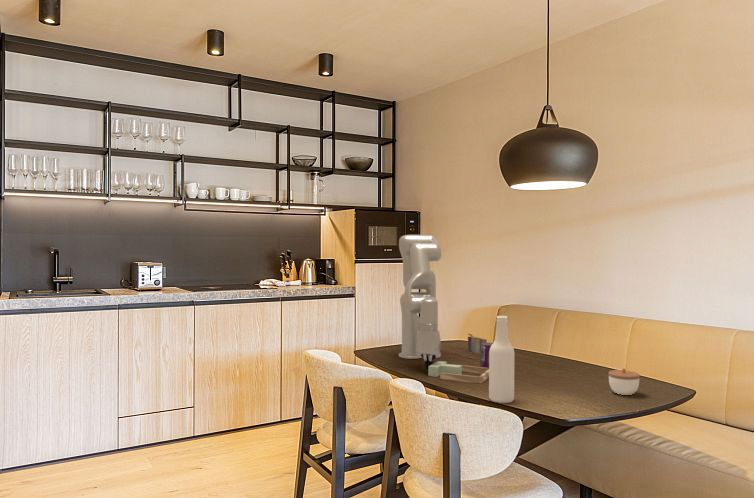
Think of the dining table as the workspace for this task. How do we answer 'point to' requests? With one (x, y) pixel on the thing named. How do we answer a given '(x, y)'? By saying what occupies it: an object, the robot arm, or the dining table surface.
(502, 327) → the alcohol
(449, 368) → the tee block
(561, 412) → the dining table surface
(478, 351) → the ruin model on sheet
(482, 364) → the beverage can
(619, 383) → the lidded jar
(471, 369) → the oak frame
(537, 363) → the dining table surface
